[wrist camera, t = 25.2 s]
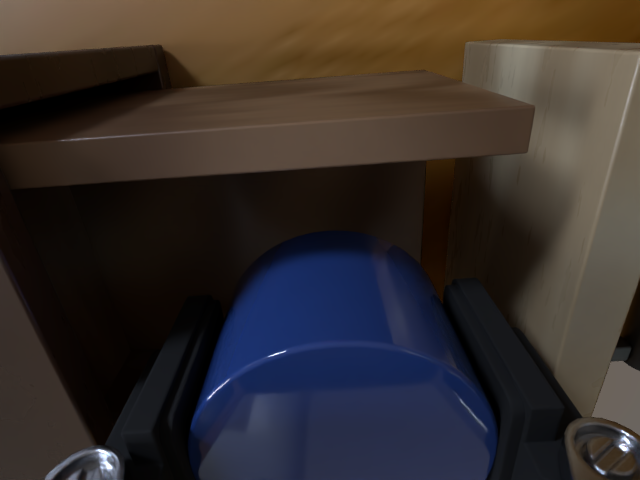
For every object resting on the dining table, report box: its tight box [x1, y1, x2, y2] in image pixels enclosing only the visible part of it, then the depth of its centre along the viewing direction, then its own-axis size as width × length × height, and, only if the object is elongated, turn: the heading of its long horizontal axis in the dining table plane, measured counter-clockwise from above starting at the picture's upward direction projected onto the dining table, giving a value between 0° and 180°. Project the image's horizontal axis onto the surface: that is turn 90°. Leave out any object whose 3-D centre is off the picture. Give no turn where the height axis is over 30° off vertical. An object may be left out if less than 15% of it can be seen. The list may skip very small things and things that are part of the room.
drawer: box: [0, 39, 640, 424], centre depth 12 cm, size 20×12×8 cm, turn 94°
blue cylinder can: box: [187, 230, 499, 480], centre depth 9 cm, size 6×6×4 cm
